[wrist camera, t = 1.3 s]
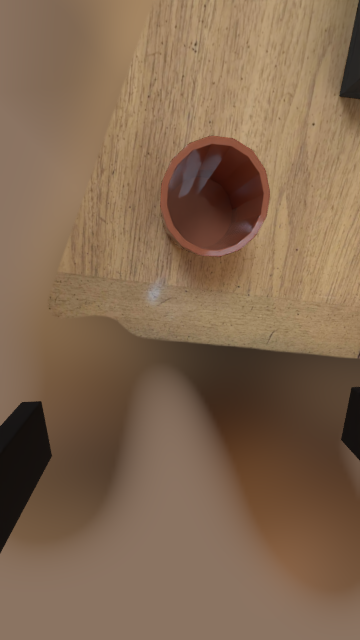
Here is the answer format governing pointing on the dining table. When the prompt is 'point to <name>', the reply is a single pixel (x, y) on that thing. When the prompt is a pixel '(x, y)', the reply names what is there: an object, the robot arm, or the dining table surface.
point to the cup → (214, 196)
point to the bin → (353, 63)
